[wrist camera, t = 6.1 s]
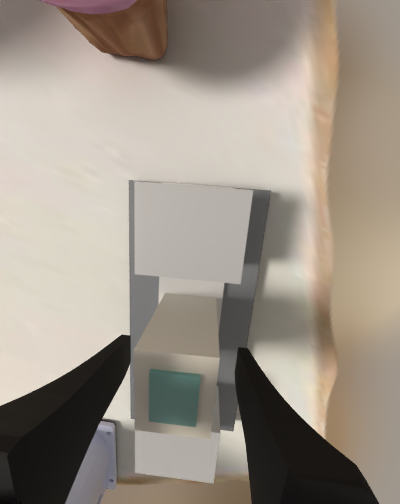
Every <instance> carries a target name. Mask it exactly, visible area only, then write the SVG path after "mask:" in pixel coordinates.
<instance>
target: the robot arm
mask: <svg viewBox="0 0 400 504" xmlns="http://www.w3.org/2000/svg"><path fill="white" fill-rule="evenodd" d="M130 362H131V336H129V335H121V336H119V337H118V338H117V339H115V340H114V341H113V342H112V343H110V344H109V345H108V346H106V347H105V348H104V349H102V350H101V351H100V352H98V353H97V354H96V355H94V356H93V357H91V358H90V359H88V360H87V361H85V362H84V363H82V364H81V365H80V366H78V367H76V368H75V369H73V370H72V371H70V372H68V373H67V374H65V375H63V376H62V377H60V378H58V379H56V380H54V381H52V382H51V383H49V384H47V385H45V386H43V387H41V388H39V389H37V390H35V391H33V392H31V393H29V394H27V395H25V396H22V397H20V398H18V399H16V400H13V401H11V402H9V403H6V404H4V405H1V406H0V504H101V502H102V499H103V496H104V494H105V491H106V489H115V487H116V485H117V466H116V435H115V425H114V424H113V423H111V422H104V421H101V420H102V418H103V416H104V414H105V412H106V410H107V408H108V407H109V405H110V403H111V401H112V399H113V397H114V396H115V394H116V392H117V390H118V388H119V386H120V385H121V383H122V381H123V379H124V377H125V375H126V372H127V370H128V367H129V365H130ZM234 374H235V386H236V394H237V399H238V405H239V410H240V415H241V421H242V426H243V431H244V437H245V443H246V452H247V461H248V470H249V480H250V489H251V500H252V504H379V502H378V501H377V499H376V497H375V495H374V494H373V492H372V490H371V488H370V486H369V485H368V483H367V481H366V480H365V478H364V476H363V475H362V473H361V472H360V470H359V469H358V467H357V465H355V464H354V463H353V462H352V461H350V460H349V459H348V458H347V457H345V456H344V455H343V454H342V453H340V452H339V451H338V450H337V449H336V448H334V447H333V446H332V445H331V444H329V443H328V442H327V441H326V440H325V439H324V438H323V437H322V436H320V435H319V434H318V433H317V432H316V431H315V430H314V429H313V428H312V427H311V426H309V425H308V424H307V423H306V422H305V421H304V420H303V419H302V418H301V417H300V416H299V415H298V414H297V413H296V412H295V411H294V410H293V408H292V407H291V406H290V405H289V404H288V403H287V402H286V401H285V400H284V398H283V397H282V396H281V395H280V394H279V392H278V391H277V390H276V389H275V387H274V386H273V385H272V384H271V382H270V381H269V380H268V378H267V377H266V375H265V374H264V372H263V371H262V370H261V368H260V367H259V365H258V364H257V362H256V361H255V359H254V357H253V356H252V354H251V353H250V351H249V350H248V348H241V347H238V351H237V358H236V365H235V372H234Z"/></svg>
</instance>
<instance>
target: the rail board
mask: <svg viewBox="0 0 400 504" xmlns="http://www.w3.org/2000/svg"><path fill="white" fill-rule="evenodd" d="M270 193H271V191H267V190H253V189H240V188H235V187H223V186H210V185H196V184H183V183H170V182H162V183H160V182H146V181H133V180H129V261H130V336H131V362H130V386H131V419H135V390H134V348H135V347H136V345H137V343H138V341H139V339H140V338H141V336H142V334H143V332H144V330H145V329H146V327H147V325H148V323H149V321H150V320H151V318H152V316H153V314H154V312H155V310H156V309H157V307H158V305H159V303H160V301H161V300H162V298H163V296H164V294H165V293H169V294H180V295H191V296H201V297H212V298H216V304H217V321H218V337H219V353H220V361H219V369H218V378H217V387H216V396H215V404H214V413H213V422H212V430H211V439H203V438H195V437H187V436H179V435H170V434H162V433H154V432H146V431H138V430H135V473H139V474H147V475H154V476H162V477H169V478H176V479H184V480H191V481H198V482H206V483H214V477H215V469H216V462H217V455H218V447H219V440H220V430H227V431H233V430H234V424H235V418H236V411H237V405H238V399H237V394H236V386H235V374H234V372H235V365H236V358H237V351H238V347H241V348H246V347H247V340H248V334H249V328H250V321H251V315H252V308H253V302H254V295H255V289H256V283H257V276H258V270H259V263H260V257H261V250H262V244H263V238H264V231H265V225H266V218H267V212H268V206H269V199H270Z"/></svg>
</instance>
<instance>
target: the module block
mask: <svg viewBox="0 0 400 504" xmlns="http://www.w3.org/2000/svg"><path fill="white" fill-rule="evenodd" d="M219 361H220V353H219V337H218V321H217V304H216V298H212V297H201V296H191V295H180V294H169V293H165V294H164V296H163V298H162V300H161V301H160V303H159V305H158V307H157V309H156V310H155V312H154V314H153V316H152V318H151V320H150V321H149V323H148V325H147V327H146V329H145V330H144V332H143V334H142V336H141V338H140V339H139V341H138V343H137V345H136V347H135V348H134V390H135V430H138V431H146V432H154V433H162V434H170V435H179V436H187V437H195V438H203V439H211V430H212V422H213V413H214V404H215V396H216V387H217V378H218V369H219Z"/></svg>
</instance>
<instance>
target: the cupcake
mask: <svg viewBox="0 0 400 504" xmlns="http://www.w3.org/2000/svg"><path fill="white" fill-rule="evenodd" d="M41 1H43V2H45V3H47V4H50V5H53V6H56V7H57V8H58V9H59V10H60V11H61V12H62V14H63V15H64V16H65V17H66V18H67V19H68V20H69V21H70V22H71V23H72V24H73V26H74V27H75V28H76V29H77V30H78V31H79V32H80V33H81V34H82V35H83V36H84V37H85V38H86V39H87V40H88V41H89V42H90V43H91V44H92V45H94V46H95V47H96V48H97V49H99V50H100V51H101V52H104V53H110V54H118V55H123V56H140V57H143V58H147V59H153V60H155V59H159V58H161V57H162V56H163V55H164V53H165V52H166V49H167V43H168V33H167V0H41Z"/></svg>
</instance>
